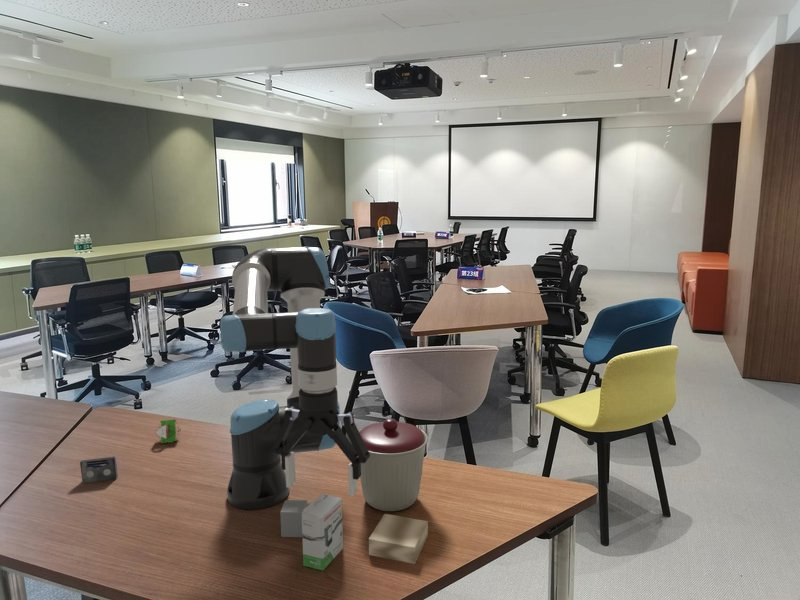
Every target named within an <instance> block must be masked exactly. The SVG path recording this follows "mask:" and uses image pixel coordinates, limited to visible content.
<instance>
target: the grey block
mask: <svg viewBox="0 0 800 600" xmlns="http://www.w3.org/2000/svg"><path fill="white" fill-rule="evenodd" d="M307 506H308V500H306V499H305V500H303V499H300V500H299V499H297V500H296V499H294V500H293V499H286V500H285V499H284V503H283V505H282V508H281V510H280V514H279V515H280V533H281V534H280V535H281V538H302V512H303V510H304V509H305V508H306V507H307Z"/></svg>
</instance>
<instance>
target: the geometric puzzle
mask: <svg viewBox="0 0 800 600" xmlns="http://www.w3.org/2000/svg"><path fill="white" fill-rule="evenodd" d="M159 424H160V425H158V427H159V428H158V429H156V431H155V435H156V436H157V435H158V437H159V438H160V439H159V442H160V443H161V444H167V442H168V443H173V442H172V441H176V442H177V437H179V435H178V434H179V433H180V429H179V428H178V427H180V426H179V424H178V422H177V420H176V418H175V419H167V420H160V422H159ZM176 425H177V426H176ZM176 436H177V437H176Z"/></svg>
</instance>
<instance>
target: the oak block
mask: <svg viewBox="0 0 800 600" xmlns="http://www.w3.org/2000/svg"><path fill="white" fill-rule="evenodd" d="M428 537H429V521H428V520H423V519H417V518H412V517H406V516H401V515H400V516H399V515H394V514H389V513H388V514H387V513H384V514H383V516H382V517H381V519H380V520H379V522H378V523H377V524H376V527H375V528H374V530H373V532H371V534H370V536H369V537H368V555H369V556H374V557H379V558H382V559H388V560H394V561H399V562H404V563H407V564H412V565H415V564H416V562H417V560H418V559H419V556H420V554H421V551H422V550H423V548H424V546H425V543H426V540H427V539H428Z"/></svg>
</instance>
